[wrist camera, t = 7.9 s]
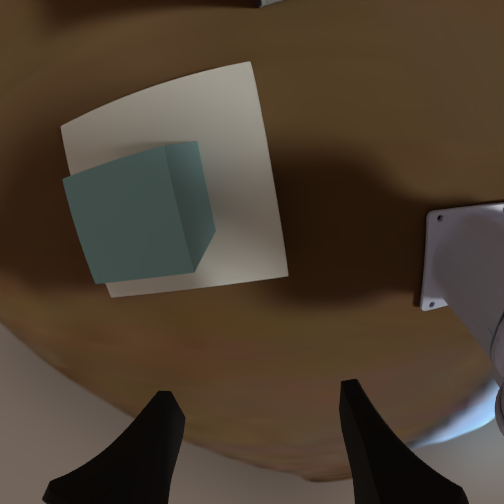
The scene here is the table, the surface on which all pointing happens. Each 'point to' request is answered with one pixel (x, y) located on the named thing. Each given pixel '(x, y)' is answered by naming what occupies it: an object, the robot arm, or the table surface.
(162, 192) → the teal cube
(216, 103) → the grey plinth
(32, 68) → the table surface
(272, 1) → the candy bar box
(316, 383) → the table surface
